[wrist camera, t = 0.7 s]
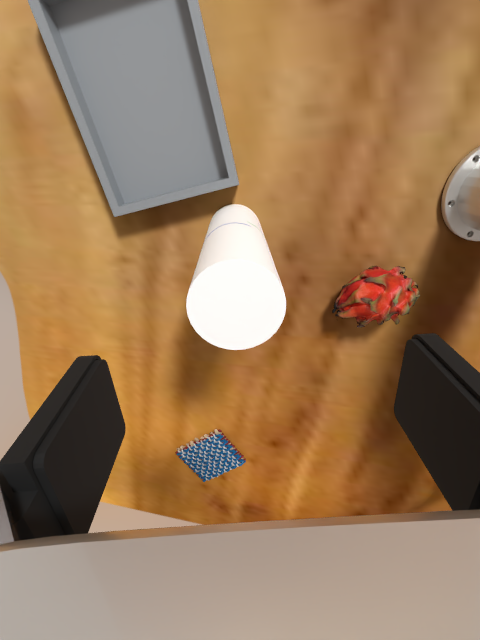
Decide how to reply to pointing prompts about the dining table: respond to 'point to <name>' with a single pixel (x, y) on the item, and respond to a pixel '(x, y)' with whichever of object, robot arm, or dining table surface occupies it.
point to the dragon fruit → (377, 296)
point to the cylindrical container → (235, 283)
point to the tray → (141, 96)
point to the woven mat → (210, 455)
